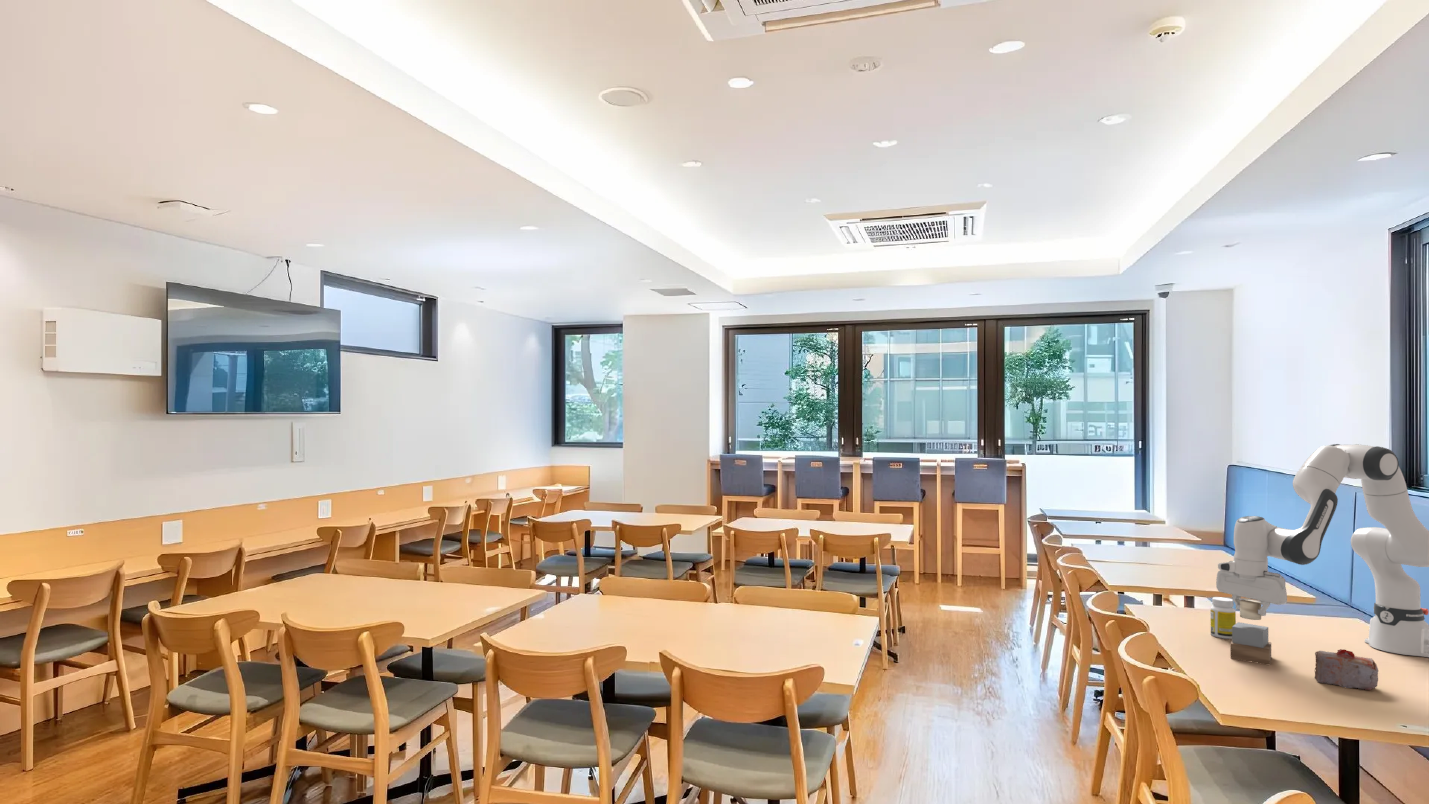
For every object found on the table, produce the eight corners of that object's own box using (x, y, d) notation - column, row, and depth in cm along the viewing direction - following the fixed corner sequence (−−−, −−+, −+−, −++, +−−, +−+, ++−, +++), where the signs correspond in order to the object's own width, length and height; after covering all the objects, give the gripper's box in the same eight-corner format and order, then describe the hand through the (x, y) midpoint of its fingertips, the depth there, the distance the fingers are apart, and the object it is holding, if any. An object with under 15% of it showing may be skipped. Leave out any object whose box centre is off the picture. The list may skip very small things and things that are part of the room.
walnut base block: (1233, 652, 250) (1233, 636, 250) (1271, 658, 244) (1271, 642, 244) (1230, 659, 242) (1230, 643, 242) (1269, 666, 236) (1269, 649, 236)
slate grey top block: (1238, 637, 249) (1238, 622, 249) (1268, 643, 243) (1268, 627, 243) (1232, 642, 243) (1232, 626, 243) (1263, 648, 238) (1263, 631, 238)
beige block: (1247, 614, 247) (1247, 599, 247) (1265, 619, 242) (1265, 603, 242) (1235, 616, 245) (1235, 600, 245) (1253, 620, 240) (1253, 604, 240)
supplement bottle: (1240, 638, 265) (1240, 600, 265) (1226, 640, 263) (1226, 602, 263) (1219, 632, 272) (1219, 595, 272) (1205, 634, 269) (1205, 597, 270)
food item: (1374, 685, 219) (1374, 650, 219) (1379, 694, 212) (1379, 657, 212) (1313, 676, 226) (1313, 642, 226) (1316, 684, 219) (1316, 649, 220)
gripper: (1292, 574, 235) (1292, 620, 235) (1226, 562, 254) (1226, 604, 254) (1277, 575, 233) (1278, 621, 233) (1212, 563, 252) (1212, 605, 252)
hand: (1250, 612), depth 244 cm, fingers closed on beige block, 5 cm apart
